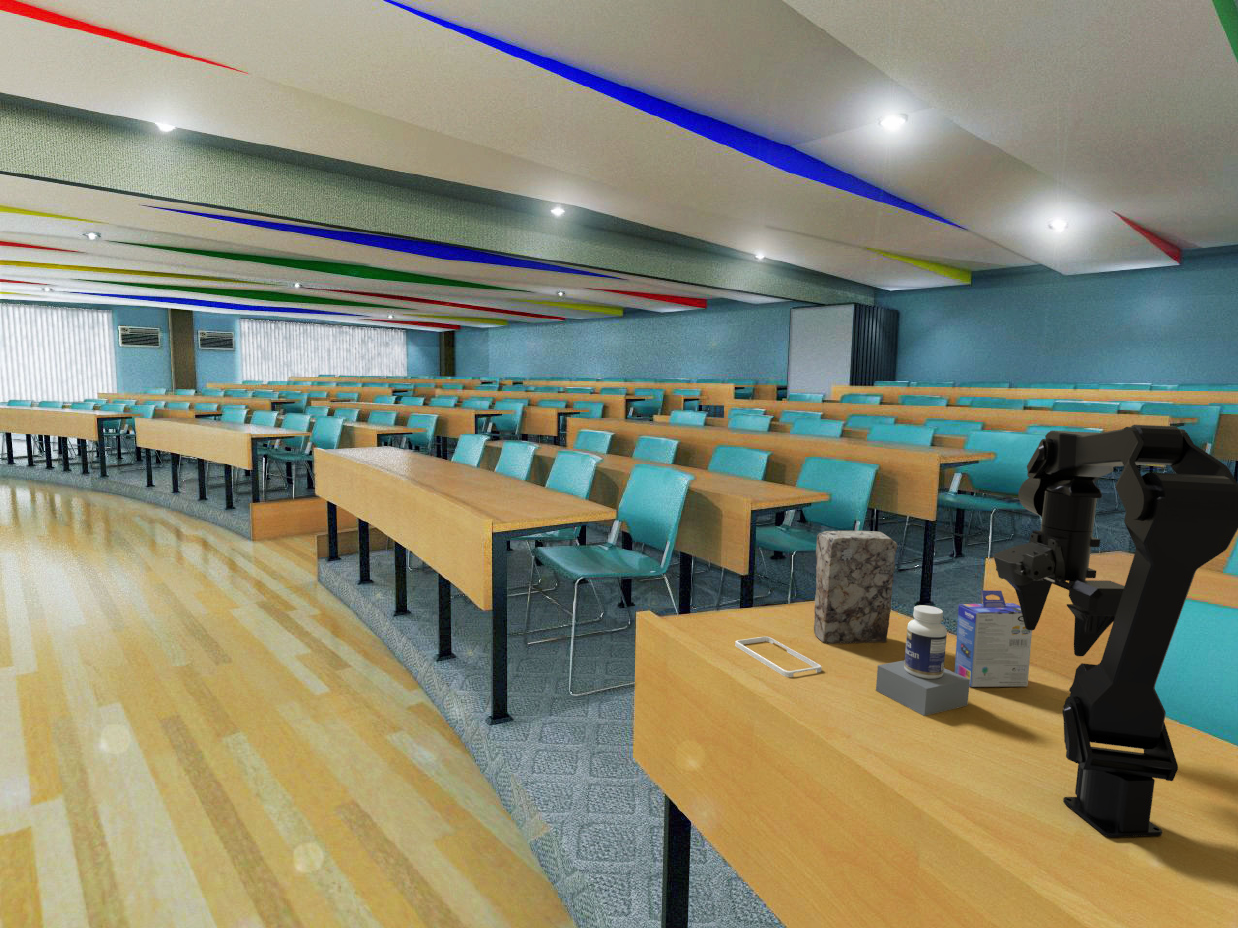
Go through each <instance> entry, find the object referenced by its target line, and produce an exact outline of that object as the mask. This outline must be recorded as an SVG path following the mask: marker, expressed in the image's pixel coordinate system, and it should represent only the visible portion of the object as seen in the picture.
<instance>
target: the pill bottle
mask: <svg viewBox="0 0 1238 928" xmlns="http://www.w3.org/2000/svg"><path fill="white" fill-rule="evenodd" d="M912 616H913V619H911V620H910V621H909V622H908V623H907V628H906V638H905V639H906V640H905V652H904V653H905V654H904V660H905V663H904V668H905V670H906V671H907V672H908V673H910V674H912V675H914V676H917V677H921V678H926V679H936V678H940V677H942V675H943V671H944V668H945V659H946V648H947V646H946V645H947V637H948V636H947V635H948V630H947V627H946V626H945V625H944V624H942V622H943V620H944V611H943V610H942V609H941V608H938V607H935V606H932V605H921V604H919V605H916V606H914V607H913V615H912Z"/></svg>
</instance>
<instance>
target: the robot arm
mask: <svg viewBox="0 0 1238 928" xmlns="http://www.w3.org/2000/svg"><path fill="white" fill-rule="evenodd" d="M1139 465H1140V466H1142V465H1160V466H1163V465H1164V466H1170V467H1171V469H1172V471H1173V472H1175V473H1171V472H1169V473H1167V472H1152V471H1151V472H1146V473H1144V474H1143V475H1142V474H1141V472H1140V470H1139V468H1138V466H1139ZM1114 467H1124V468H1123V469H1122V472H1121V474H1120V475H1119V478H1118V480H1117V481H1116V484H1115V490H1116V492H1117V494H1118V496H1119V499H1120V501H1121V503H1122V506H1123V508H1124V510H1125V516H1124V521H1123V522H1124V525H1125V527H1126V530H1127V532H1128V534H1129V535H1130V536H1129V537H1131V540H1132V542H1133V544H1134V546H1135V551H1134V555H1133V558H1132V562H1131V564H1130V567H1129V570H1128V575H1127V577H1126V581H1125V584H1124V585H1122V584H1120V583H1118V582H1115V581H1112V580H1093V579H1096V578H1097V570H1096V569H1093V568H1091V567H1090V568H1089V566H1090V558H1091V557H1090V556H1091V551H1092V549H1091V548H1100V546H1101V545H1100V543H1101V539H1100V538H1097V537H1093V532H1094V524H1095V517H1096V508H1097V500H1099V499H1102V497H1103V494H1102V492H1101V489H1100V488H1099V487H1098V486H1096V484H1095V483H1097V482H1098V480H1099V479H1100V478H1101V477H1104V476H1106V475H1108V474H1112V472H1114ZM1026 470H1027V473H1026V475H1027V478H1026V479H1025V480H1024V481H1023V482H1022V484H1021V485H1020V487H1019V489H1018V492H1017V493H1018V499H1019V502H1020V504H1021V505H1022V507H1023V508H1024V509H1025V510H1027V511H1029V512H1032V513H1033V514H1035V515H1037V516H1039V517H1041V524H1040V530H1032V533H1030V536H1029V540H1028V543H1025V544H1017V545H1015V546H1013V547H1009V548H1008V549H1004V550H1002V551H997V552H996V553H994V554H993V558H994V559H993V560H994V563H995V571H996V572H997V575H998V576H997V577H998V578H999V579H1001V580H1005V581H1006V582H1007V583H1008V584H1009V585H1011V586H1012V588H1013V589H1014V590H1015V593H1016V596H1017V600H1018V604H1019V606H1020V608H1021V612H1022V616H1023V620H1024V624H1025V628H1026V629H1027V630H1032V631H1035V630H1036V627H1037V626H1038V624H1039V621H1040V619H1041V615H1042V613H1043V610H1044V607H1045V605H1046V602H1047V600H1048V596H1049V593H1050V590H1051V588H1052V585H1056V586H1058V587H1060V588H1061V589H1062V588H1063V589H1065V590H1067V591H1068V597H1069V599H1070V602H1071V603H1067V604H1066V607H1067V608H1068V609H1069V610H1070V612H1071V613H1072V615H1073V616H1074V629H1073V630H1074V631H1073V652H1074V653H1073V655H1074V656H1076V657H1084V656H1086V655H1087V653H1088V652H1089V651H1090V649H1091V648H1092V647H1093V645H1094V644H1095V643H1096V642H1097V640H1098V639H1099V638H1100V637H1102V634H1104V632H1105V631H1106V630H1107V629H1108V628H1109V627H1110V626H1111V625H1112V626H1111V629H1110V633H1109V635H1108V638H1107V642H1106V644H1105V645H1106V646H1105V648H1104V651H1103V655H1102V657H1101V660H1100V662H1099V663H1098V664H1090V663H1080V664H1079V665H1078V666H1077V667H1076V669H1075V673H1074V678H1073V681H1072V685H1071V686H1070V687H1069V689H1068V691H1069V693H1070V694H1069V695H1068V696H1067V697H1066V699H1065V701H1064V704H1063V706H1062V716H1063V740H1064V741H1063V742H1064V745H1065V750H1066V752H1065V757H1066V759H1067V760H1069V761H1071V762H1073V763H1075V764H1077V774H1076V783H1075V792H1074V793H1075V796H1064V797H1063V803H1064V804H1065V805H1066V806H1067V807H1069V808H1070V809H1071V811H1072V810H1073V812H1075V814H1078V816H1079V817H1081V818H1082V819H1083V820H1084V821H1086V822H1087V823H1088V824H1090V825H1091V826H1092V827H1093V828H1095V830H1097V831H1098V832H1100V833H1101V834H1102V835H1103V836H1105V837H1108V838H1125V837H1127V838H1128V837H1157V836H1159V837H1160V836H1162V835H1163V830H1162V829H1161V828H1160V827H1159V826H1157V825H1156V824H1155V823H1153V822H1151V821H1150V820H1151V812H1152V806H1153V805H1152V804H1153V798H1154V788H1155V782H1156V779H1159V780H1165V781H1167V782H1174V779H1175V777H1176V775H1177V772H1178V770H1179V764H1178V761H1177V758H1176V755H1175V752H1174V748H1173V746H1172V745H1173V744H1172V742H1171V739H1170V736H1169V733H1168V730H1167V725H1166V723H1165V719H1166V713H1167V712H1166V709H1165V707H1164V705H1163V703H1162V701H1161V699H1160V697H1159V694H1158V693H1157V691H1156V684H1157V681H1158V678H1159V675H1160V672H1161V669H1162V667H1163V664H1164V662H1165V659H1166V655H1167V654H1168V650H1169V647H1170V645H1171V642H1172V638H1173V637H1174V633H1175V631H1176V627H1177V624H1178V622H1179V619H1180V618H1181V613H1182V611H1183V608H1184V607H1185V603H1186V600H1187V598H1188V595H1189V591H1190V590H1191V586H1192V583H1193V580H1194V578H1195V575H1196V573H1197V570H1198V569H1200V568H1201V567H1202V566H1204V565H1206V564H1208V563H1209V562H1211V561H1212V560H1213V559H1214V558H1216V557H1218V556H1220V555H1222V553H1224V552H1225V551H1227V550H1228V548H1229V547H1230V545H1231V543H1232V541H1233V539H1234V537H1235V536H1236V534H1237V532H1238V482H1237V480H1236V479H1235V476H1234V475H1233V473H1232V472H1231V471H1230V469H1229V467H1228V466H1227V465H1226V464H1225V463H1223V462H1222V461H1220V460H1219V459H1217V458H1215V457H1214V456H1212V455H1211V454H1209V453H1208V452H1206V451H1205V450H1204V449H1201V448H1200V447H1199V446H1197V445H1196V444H1195V443H1194V442H1193V441H1192V439H1191V437H1190V435H1189V433H1188V432H1187V431H1186V430H1185V429H1183V428H1182V429H1181V428H1178V427H1177V426H1174V425H1152V424H1149V425H1148V424H1132V425H1131V426H1125V427H1123V428H1121V429H1114V430H1110V431H1109V430H1108V431H1104V432H1095V431H1093V432H1090V431H1087V432H1086V431H1071V430H1070V431H1069V430H1068V431H1067V430H1050V431H1049V432H1047V433H1046V434H1045V437H1044V438H1042V439H1041V440H1040V442H1039V444H1038V446H1037V447H1036V449H1035V451H1034V453H1033V454H1032V456H1031V457H1030V459H1029V461H1028V463H1027V464H1026ZM1087 579H1089V580H1087ZM1090 579H1092V580H1090ZM1091 743H1092V744H1093V743H1094V744H1100V745H1101V744H1102V745H1108V746H1116V747H1117V746H1118V747H1123V748H1130V749H1131V748H1132V749H1138V750H1139V749H1141V750H1143V752H1138V751H1129V750H1122V749H1113V748H1105V747H1098V746H1091Z"/></svg>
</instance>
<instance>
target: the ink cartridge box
mask: <svg viewBox="0 0 1238 928" xmlns="http://www.w3.org/2000/svg"><path fill="white" fill-rule="evenodd" d="M980 594H981V602H982V603H959V604H958V610H957V626H956V627H957V628H956V645H955V657H954V658H955V661H954V673H957V674H959V675H961V676H963V677H966V678H968V679H970V685H969V688H970V687H971V688H983V687H984V688H987V687H988V688H990V687H992V688H993V687H996V688H997V687H998V688H1000V687H1002V688H1003V687H1011V688H1012V687H1028V684H1029V672H1030V663H1031V662H1030V661H1031V647H1032V636H1033V630H1027V629H1026V628H1025V624H1024V620H1023V616H1022V612H1021V608H1020V604H1019V605H1018V604H1016V603H1013V602H1009V603H1008V602H1007V603H1006V601H1005V598H1004V595H1003V591H1002V590H988V589H987V590H986V589H985V590H983V589H982V590H980ZM993 595H994V596H996V597H998V598H999V599H987V597H988V596H993Z"/></svg>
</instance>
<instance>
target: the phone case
mask: <svg viewBox="0 0 1238 928" xmlns="http://www.w3.org/2000/svg"><path fill="white" fill-rule="evenodd" d="M763 642H768V643H770V644H771V645H773V644H776V645H778V646H779V647H781V648H783V649H785V650H786V653H788V654H790V655H791V656H793V657H794V658H797V659H799V661H802V662H804V663H806V664H807V665H809V666H811V667H807V668H800V669H794V670H786V669H785V668H783V667H780V666H779V665H777V664H776V663H774V662H772V661H770V660H769V659H768V658H765V657H764V656H763V655H760V654H759V653H758V652H755V651H753V650H752V649H751V648H748V646H745V645H748V644H755V643H763ZM734 643H735V644H734V645H735V647H736V648H737V649H739V650H741V651H743V652H744V653H746V654H747V655H749V657H750V656H751V657H752V658H753V659H755V660H757V661H759V662H760V663H762V665H763V664H764V665H765V666H766V667H768V668H770V669H772V671H775V672H776V673H778V674H780V675H781V676H783V677H786V678H793V677H794V674H797V673H802V672H803V673H804V672H808V671H814V670H815V673H821V672H822V665H821V664H819V663H818V662H815V661H814V660H812V659H810V658H809V657H807V656H805V655H803V654H801V653H800V652H797V651H796V650H794V649H792V648H790V647H788V646H787V645H785V644H783V643H782V642H779V641H778V640H776V639H774V638H772V637H770V636H759V637H752V638H751V637H750V638H745V639H738V640H735V642H734Z"/></svg>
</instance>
